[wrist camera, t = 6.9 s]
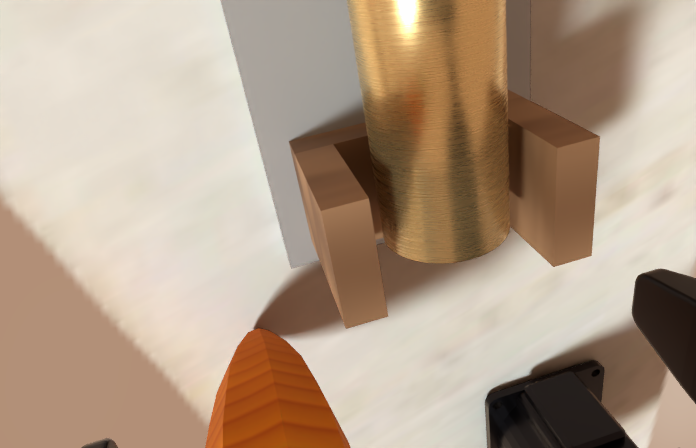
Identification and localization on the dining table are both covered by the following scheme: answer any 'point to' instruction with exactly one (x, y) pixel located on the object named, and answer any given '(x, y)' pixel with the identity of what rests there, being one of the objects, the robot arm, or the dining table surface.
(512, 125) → the wooden u-shaped cradle
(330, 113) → the board
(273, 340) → the carrot
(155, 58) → the dining table surface
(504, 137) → the tube
